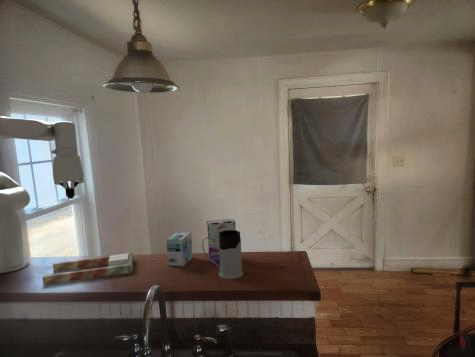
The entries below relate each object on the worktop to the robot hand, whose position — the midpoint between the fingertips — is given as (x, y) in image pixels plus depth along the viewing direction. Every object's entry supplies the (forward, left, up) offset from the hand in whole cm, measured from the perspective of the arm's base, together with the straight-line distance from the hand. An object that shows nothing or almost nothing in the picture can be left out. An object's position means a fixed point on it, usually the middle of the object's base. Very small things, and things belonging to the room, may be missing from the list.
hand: (70, 198), depth 123 cm
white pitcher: (+54, -34, -27) cm, 69 cm away
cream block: (+17, -11, -27) cm, 34 cm away
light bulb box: (+41, -15, -27) cm, 52 cm away
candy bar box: (+57, -21, -27) cm, 67 cm away
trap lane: (+8, -13, -27) cm, 31 cm away
